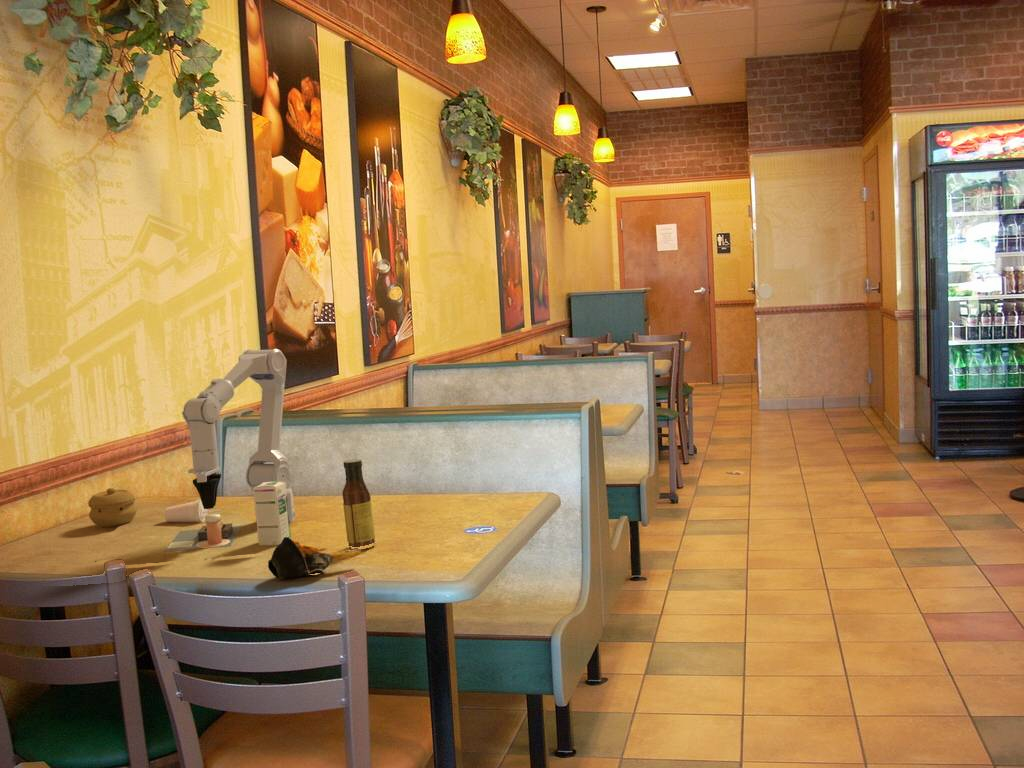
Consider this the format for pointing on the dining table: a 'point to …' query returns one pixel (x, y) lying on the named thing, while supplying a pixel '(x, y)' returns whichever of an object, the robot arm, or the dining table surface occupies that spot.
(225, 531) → the button collar
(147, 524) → the dining table surface
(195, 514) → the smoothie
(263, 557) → the dining table surface
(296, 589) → the dining table surface
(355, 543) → the sauce bottle
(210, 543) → the terracotta marker
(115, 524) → the pot
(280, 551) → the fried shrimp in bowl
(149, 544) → the dining table surface
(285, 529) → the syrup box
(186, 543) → the picture board
